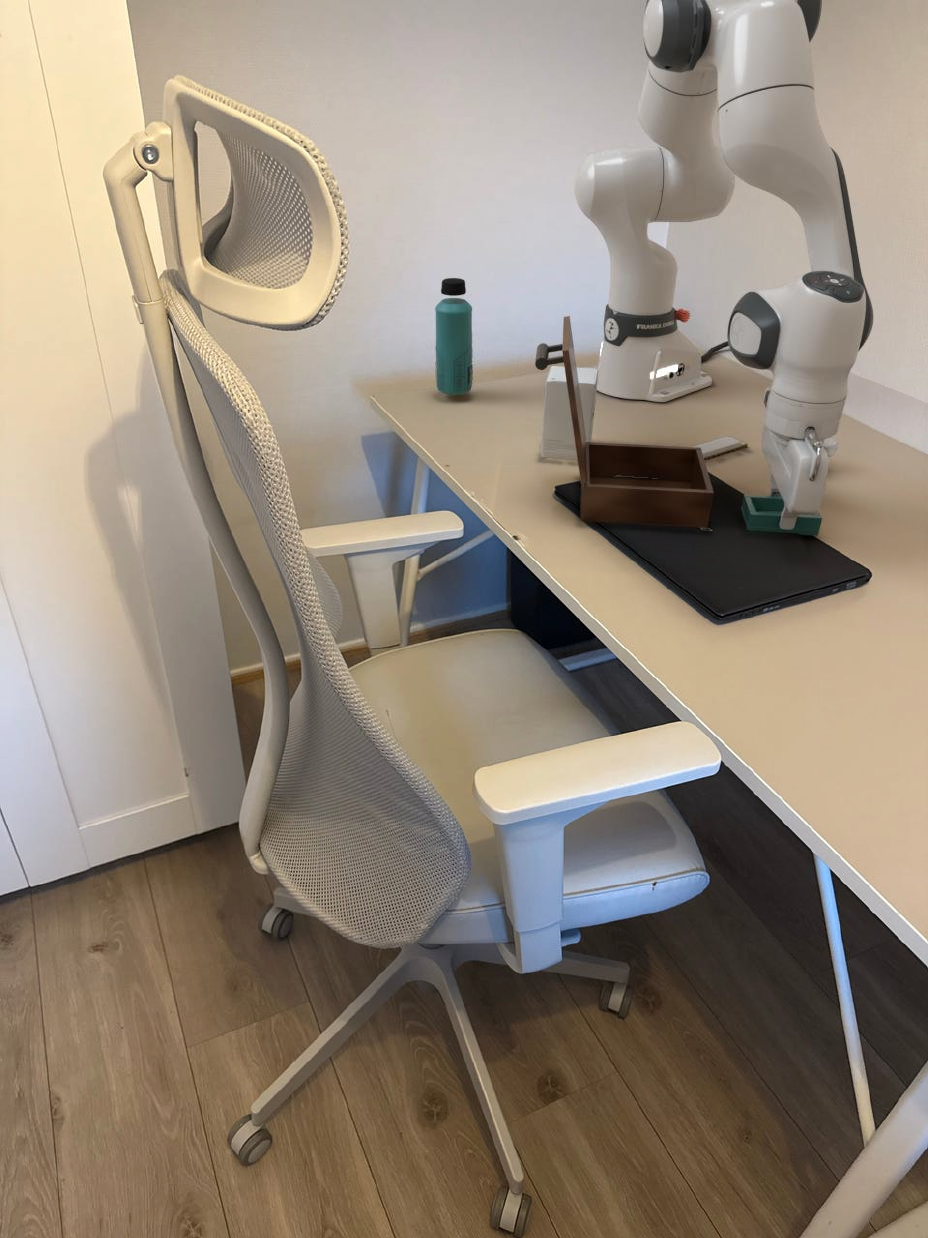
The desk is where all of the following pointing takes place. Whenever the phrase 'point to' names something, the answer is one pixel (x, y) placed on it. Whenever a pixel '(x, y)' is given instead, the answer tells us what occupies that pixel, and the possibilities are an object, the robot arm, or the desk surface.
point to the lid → (572, 386)
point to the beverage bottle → (454, 340)
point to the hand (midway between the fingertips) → (780, 513)
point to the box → (646, 485)
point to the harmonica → (720, 447)
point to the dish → (775, 516)
